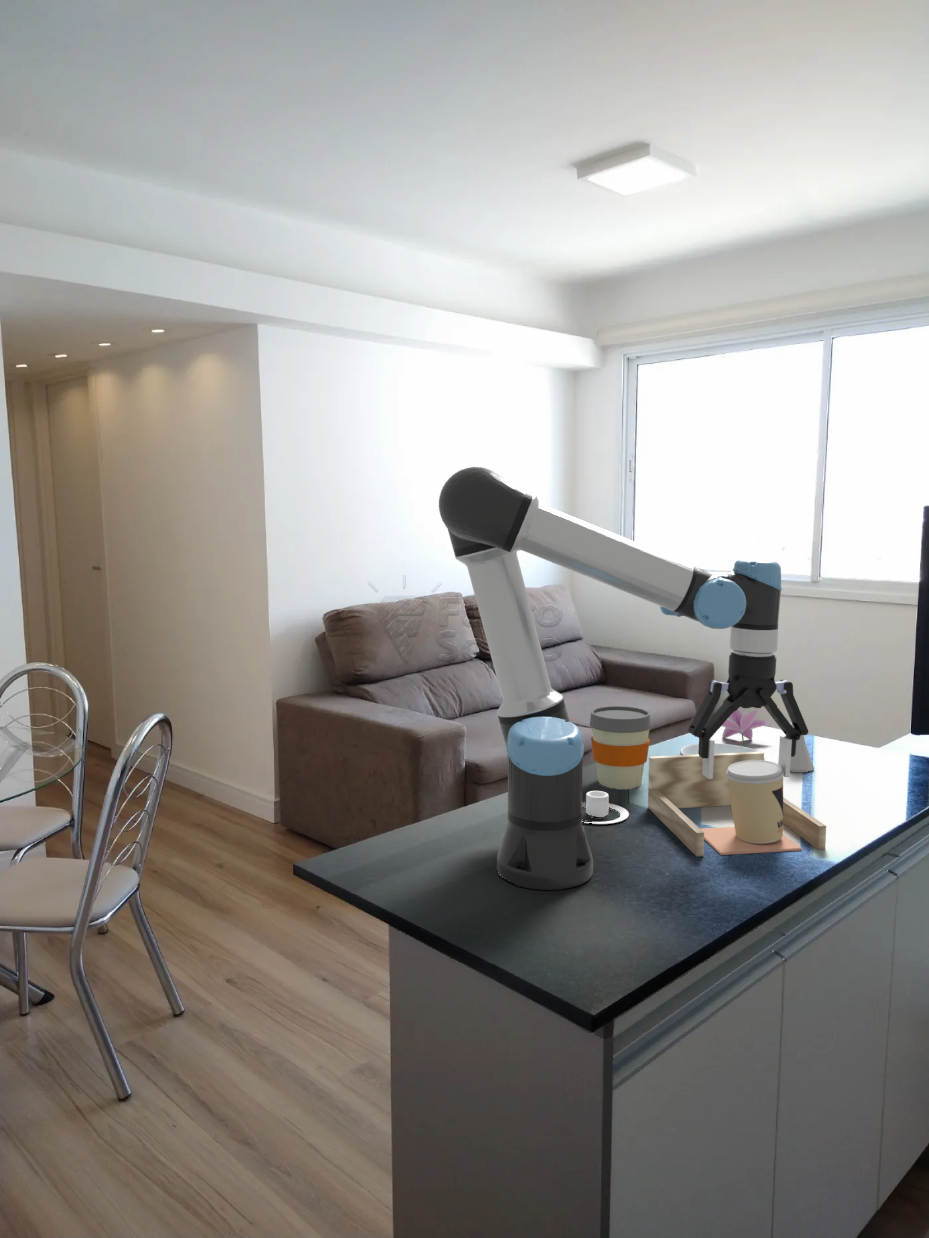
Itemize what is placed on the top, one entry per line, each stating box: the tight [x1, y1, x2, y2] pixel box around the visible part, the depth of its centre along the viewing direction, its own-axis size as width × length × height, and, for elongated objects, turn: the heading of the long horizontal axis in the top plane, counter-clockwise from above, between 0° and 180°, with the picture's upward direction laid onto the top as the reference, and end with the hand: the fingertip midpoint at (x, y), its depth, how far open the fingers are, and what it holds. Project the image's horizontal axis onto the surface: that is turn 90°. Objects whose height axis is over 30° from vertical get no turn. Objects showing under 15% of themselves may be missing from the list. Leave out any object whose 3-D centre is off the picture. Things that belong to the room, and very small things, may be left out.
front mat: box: [700, 826, 803, 856], centre depth 150 cm, size 14×11×1 cm
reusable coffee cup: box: [589, 705, 652, 790], centre depth 181 cm, size 13×13×15 cm
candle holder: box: [582, 790, 630, 825], centre depth 163 cm, size 12×12×4 cm
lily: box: [721, 708, 771, 747], centre depth 212 cm, size 12×12×10 cm
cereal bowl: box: [679, 742, 766, 761], centre depth 179 cm, size 17×17×7 cm
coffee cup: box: [726, 760, 784, 844], centre depth 149 cm, size 9×9×12 cm
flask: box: [789, 722, 815, 773], centre depth 190 cm, size 7×7×10 cm
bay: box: [647, 751, 827, 857], centre depth 156 cm, size 22×24×10 cm
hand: (745, 775), depth 148 cm, fingers open, 13 cm apart
